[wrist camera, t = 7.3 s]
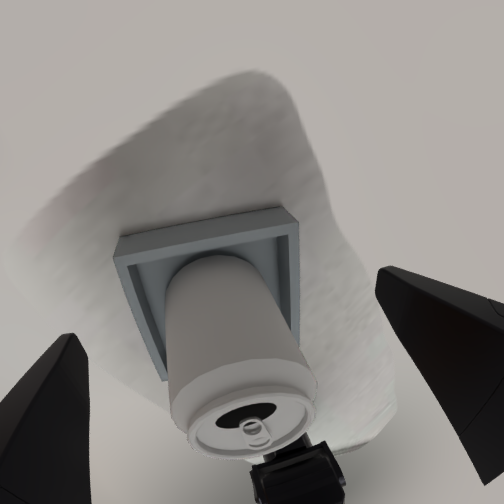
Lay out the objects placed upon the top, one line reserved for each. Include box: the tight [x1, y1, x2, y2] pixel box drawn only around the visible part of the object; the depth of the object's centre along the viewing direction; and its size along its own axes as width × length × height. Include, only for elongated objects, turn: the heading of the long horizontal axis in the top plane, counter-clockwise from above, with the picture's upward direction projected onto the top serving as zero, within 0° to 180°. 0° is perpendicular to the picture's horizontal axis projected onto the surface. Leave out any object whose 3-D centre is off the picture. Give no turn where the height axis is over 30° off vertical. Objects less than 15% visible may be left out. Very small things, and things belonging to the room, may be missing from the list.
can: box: [165, 255, 317, 460], centre depth 18 cm, size 8×8×12 cm
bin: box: [113, 206, 300, 381], centre depth 22 cm, size 11×11×3 cm
